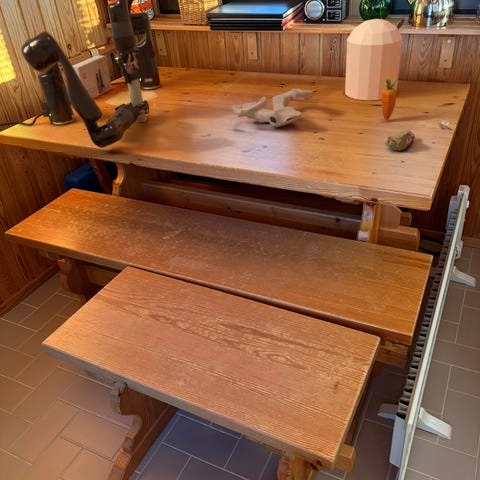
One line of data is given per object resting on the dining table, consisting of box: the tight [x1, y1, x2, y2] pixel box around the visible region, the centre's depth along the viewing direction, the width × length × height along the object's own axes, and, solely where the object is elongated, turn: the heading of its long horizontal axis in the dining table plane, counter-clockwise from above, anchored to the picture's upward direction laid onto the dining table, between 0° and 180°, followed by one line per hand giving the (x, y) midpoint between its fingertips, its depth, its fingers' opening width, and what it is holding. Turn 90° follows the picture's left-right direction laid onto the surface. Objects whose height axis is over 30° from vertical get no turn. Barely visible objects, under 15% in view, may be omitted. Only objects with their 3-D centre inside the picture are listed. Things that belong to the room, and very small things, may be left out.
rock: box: [387, 129, 416, 152], centre depth 146 cm, size 11×6×10 cm
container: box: [344, 18, 403, 101], centre depth 185 cm, size 21×21×28 cm
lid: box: [129, 70, 139, 80], centre depth 178 cm, size 5×5×2 cm
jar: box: [126, 79, 148, 123], centre depth 183 cm, size 5×5×18 cm
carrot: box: [380, 79, 398, 122], centre depth 161 cm, size 5×5×15 cm
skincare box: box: [72, 54, 113, 100], centre depth 218 cm, size 21×6×16 cm, turn 158°
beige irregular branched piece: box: [231, 88, 314, 128], centre depth 171 cm, size 28×26×12 cm
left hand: (140, 102), depth 187 cm, fingers closed on jar, 4 cm apart
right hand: (132, 80), depth 179 cm, fingers closed on lid, 5 cm apart
